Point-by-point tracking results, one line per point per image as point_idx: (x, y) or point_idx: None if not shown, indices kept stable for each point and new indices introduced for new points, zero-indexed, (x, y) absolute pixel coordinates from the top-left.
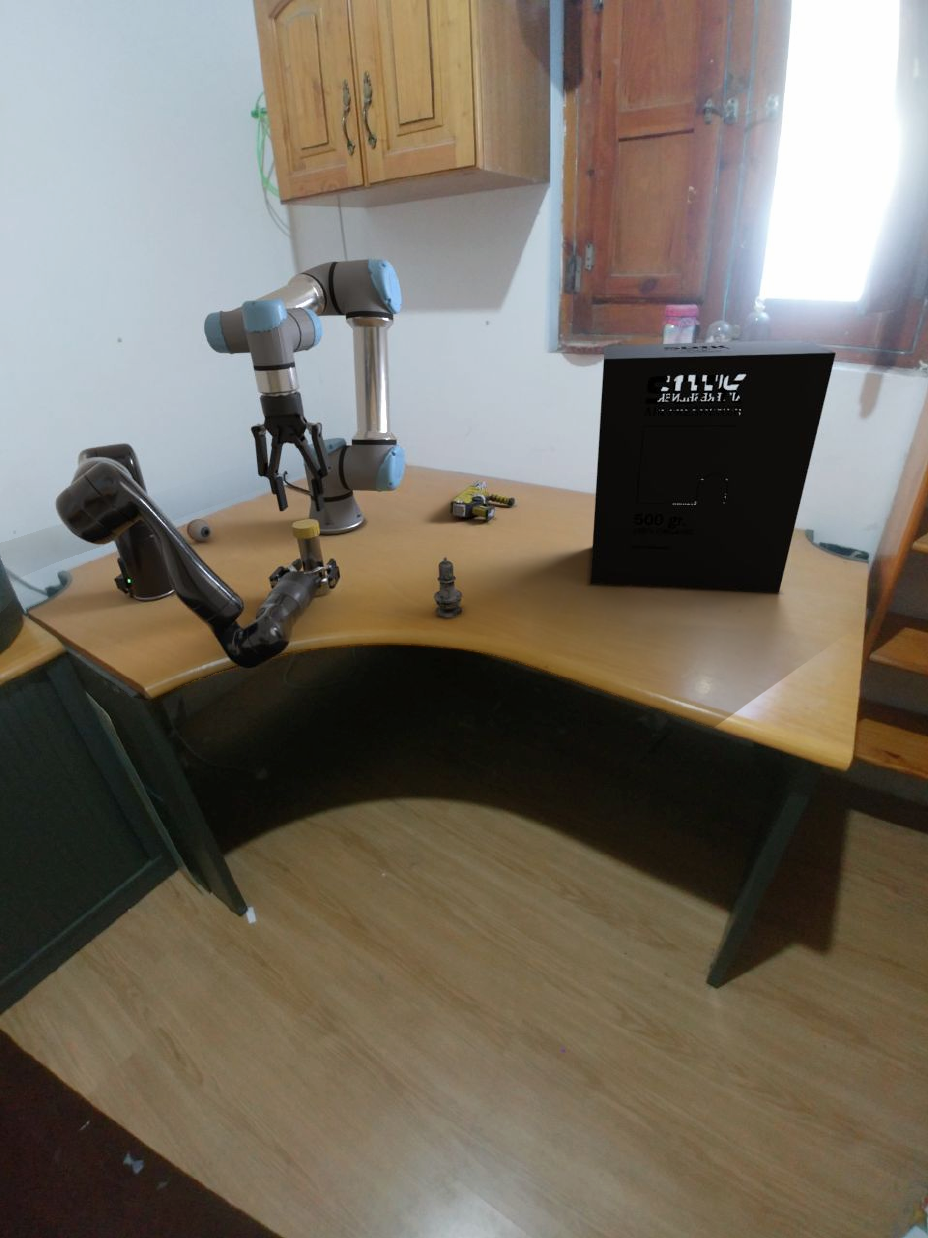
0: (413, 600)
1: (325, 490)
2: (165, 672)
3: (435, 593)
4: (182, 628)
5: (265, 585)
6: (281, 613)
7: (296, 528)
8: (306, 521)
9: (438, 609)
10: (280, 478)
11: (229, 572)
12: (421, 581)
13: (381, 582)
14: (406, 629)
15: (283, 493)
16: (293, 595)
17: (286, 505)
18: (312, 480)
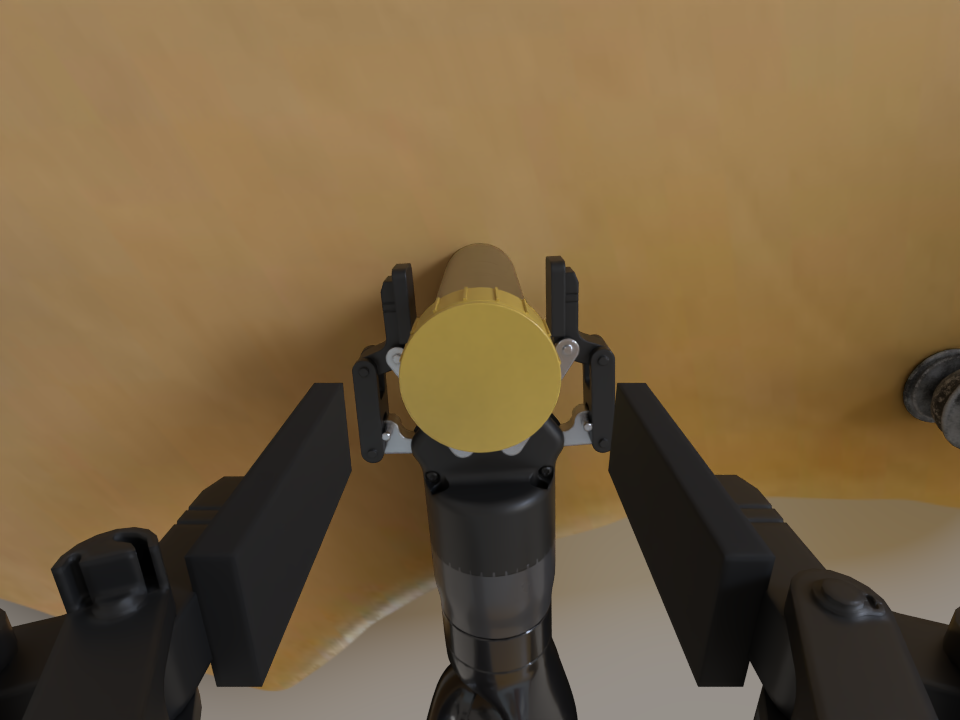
0: (829, 320)
1: (750, 491)
2: (277, 660)
3: (953, 401)
4: (171, 510)
5: (251, 238)
6: (546, 705)
7: (454, 447)
8: (473, 345)
9: (917, 395)
10: (248, 591)
11: (16, 124)
12: (863, 170)
13: (703, 187)
14: (808, 479)
15: (310, 481)
16: (538, 614)
17: (340, 416)
18: (714, 681)
